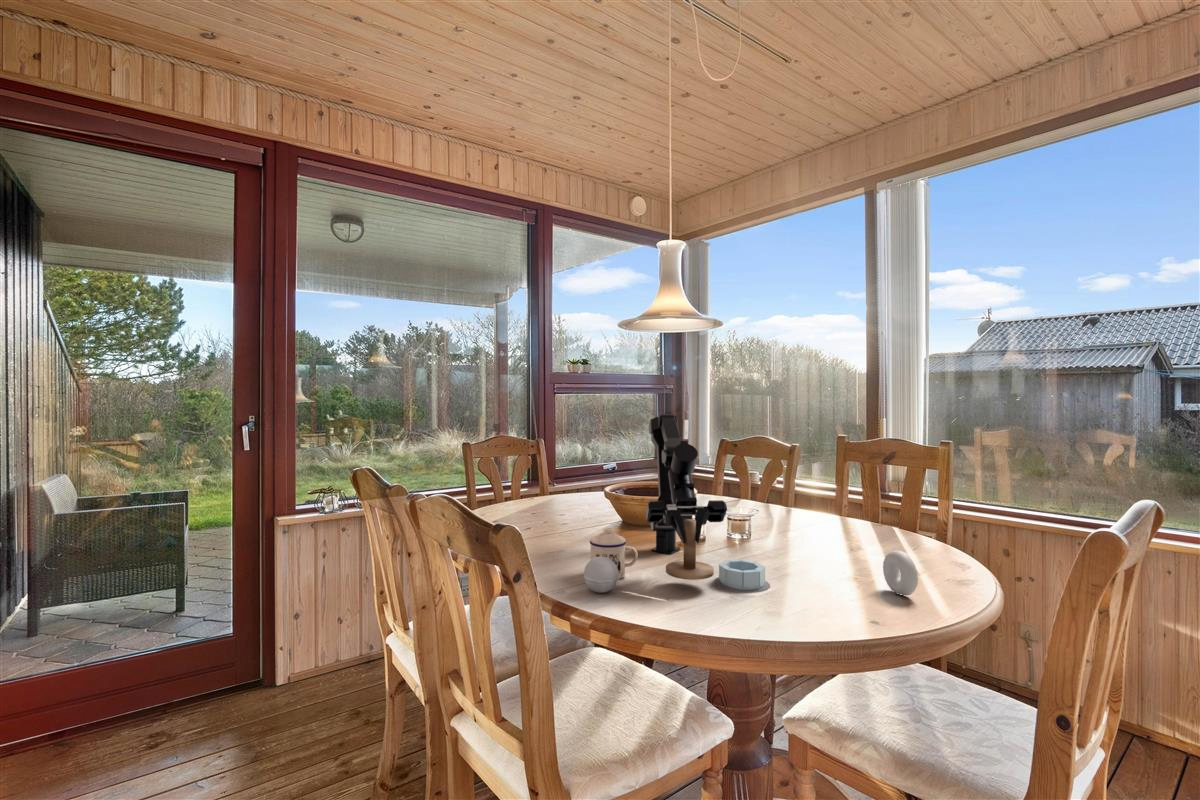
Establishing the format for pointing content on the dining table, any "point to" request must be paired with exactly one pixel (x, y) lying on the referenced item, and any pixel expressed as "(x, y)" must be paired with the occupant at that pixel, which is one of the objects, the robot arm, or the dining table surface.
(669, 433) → the robot arm
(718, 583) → the trivet
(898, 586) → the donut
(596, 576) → the bath bomb
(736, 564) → the bowl
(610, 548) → the teacup with lid
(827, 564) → the dining table surface
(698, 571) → the lid
